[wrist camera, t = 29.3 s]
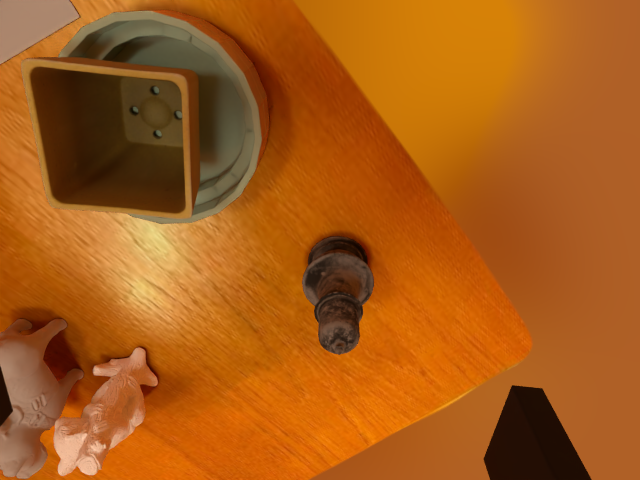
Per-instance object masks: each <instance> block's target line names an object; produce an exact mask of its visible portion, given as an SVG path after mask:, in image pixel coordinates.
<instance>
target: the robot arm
mask: <svg viewBox="0 0 640 480" xmlns="http://www.w3.org/2000/svg"><path fill="white" fill-rule="evenodd" d="M12 412H13V408H12V405H11V401H10V398H9V394H8V391H7V387H6V384H5V380H4V377H3V373H2V370H1V366H0V427H1V425H2V424H3V423H4V422H5V420H6V419H7V418H8V417H9V416H10V414H11V413H12ZM484 462H485V465H486V468H487V471H488V474H489V477H490V480H591V478H590V476H589V474H588V472H587V471H586V469H585V467H584V465H583V463H582V461H581V459H580V458H579V456H578V454H577V452H576V450H575V448H574V447H573V445H572V443H571V441H570V439H569V437H568V436H567V434H566V432H565V430H564V428H563V426H562V424H561V423H560V421H559V419H558V417H557V415H556V413H555V411H554V410H553V408H552V406H551V404H550V402H549V400H548V399H547V397H546V395H545V393H544V391H543V389H542V388H533V387H523V386H512V387H511V389H510V392H509V395H508V398H507V400H506V402H505V405H504V407H503V410H502V413H501V415H500V418H499V421H498V423H497V426H496V428H495V431H494V433H493V436H492V439H491V441H490V444H489V446H488V449H487V452H486V454H485V457H484Z"/></svg>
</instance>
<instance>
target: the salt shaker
mask: <svg viewBox="0 0 640 480" xmlns="http://www.w3.org/2000/svg"><path fill="white" fill-rule="evenodd" d="M302 284H303V291H304V293H305V295H306V297H307V299H308V300H309V301H310V302H311V303H312V304H313V305H314V306H315V310H314V313H315V318H316V320H317V321H318V323H319V331H318V336H319V341H320V344H321V346H322V347H323V348H324V349H326V350H327V351H329V352H331V353H335V354H339V355H340V354H343V353H347V352H349V351H351V350H352V349H353V348H355V347H356V345H357V344H358V341H359V337H360V333H359V321H360V320H361V318H362V315H363V307H362V305H363V304H364V303H365V302H366V301H367V300H368V299H369V297H370V296H371V294H372V291H373V287H374V278H373V275H372V272H371V269H370V268H369V267H368V265H367V256H366V253H365V250H364V249H363V248H362V247H361V245H360V244H358V243H357V242H356V241H354V240H352V239H350V238H348V237H342V236H333V237H329V238H326V239H323V240H322V241H320V242H318V243H317V244H316V245H315V246H314V247H313V248H312V250H311V252H310V254H309V259H308V267H307V269H306V271H305V273H304V275H303V281H302Z"/></svg>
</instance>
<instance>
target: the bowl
mask: <svg viewBox="0 0 640 480" xmlns="http://www.w3.org/2000/svg"><path fill="white" fill-rule="evenodd" d="M58 57H80V58H89V59H97V60H105V61H113V62H122V63H131V64H139V65H149V66H158V67H170V68H182V69H190V70H193V71H194V72H195V73H196V74H197V76H198V79H199V143H200V184H199V189H198V193H197V197H196V201H195V205H194V209H193V214H192V217H191V218H188V219H173V218H164V217H154V216H145V215H136V214H128V215H130V216H132V217H136V218H140V219H144V220H148V221H152V222H156V223H160V224H170V223H192V222H195V221H198V220H201V219H203V218H206V217H209V216H212V215H215V214H217V213H219V212H220V211H222V210H223V209H224V208H225V207H227V206H228V205H229V204H230V203H232V202H233V201H234V200H235V199H237V198H238V197H239V196H240V195H241V194H242V192H243V190H244V189H245V187H246V185H247V184H248V182H249V181H250V179H251V177H252V176H253V174H254V172H255V171H256V168H257V166H258V164H259V162H260V160H261V158H262V156H263V153H264V150H265V146H266V141H267V136H268V132H269V127H270V126H269V125H270V122H269V112H268V103H267V96H266V92H265V90H264V88H263V85H262V83H261V80H260V78H259V76H258V73H257V71H256V69H255V66H254V64H253V63H252V62H251V61H250V59H249V58H248V57H247V56H246V55H245V53H244V52H243V51H242V50H241V48H240V47H239V46H238V45H237V44H236V42H235V41H234V40H233V39H232V38H231V37H229V36H228V35H226V34H225V33H223V32H222V31H220V30H219V29H217V28H216V27H214V26H213V25H211V24H210V23H208V22H207V21H205V20H203V19H200V18H197V17H194V16H190V15H187V14H183V13H180V12H177V11H173V10H172V11H171V10H147V11H130V12H114V13H111V14H109V15H107V16H105V17H103V18H100V19H98V20H96V21H94V22H92V23H90V24H88V25H85V26H83V27H82V28H81V29H80V30H79V31H78V32H77V34H76V35H75V36H74V37H73V38H72V39H71V40H70V41H69V42H68V44H67V45H66V46H65V47H64V48H63V49H62V50H61V52H60V54H59V56H58ZM151 90H152V92H153V93H154V94H158V93H159V89H158V88H157V87H156V86H154V87H152V89H151ZM131 112H132V113H133V114H138V109H137V108H136V107H132V108H131ZM175 117H176V118H178V119H180V118H182V113H181V112H180V111H176V112H175ZM154 134H155V136H156V137H161V136H162V134H161V132H160V131H159V130H156V131H155V132H154ZM126 214H127V213H126Z"/></svg>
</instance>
